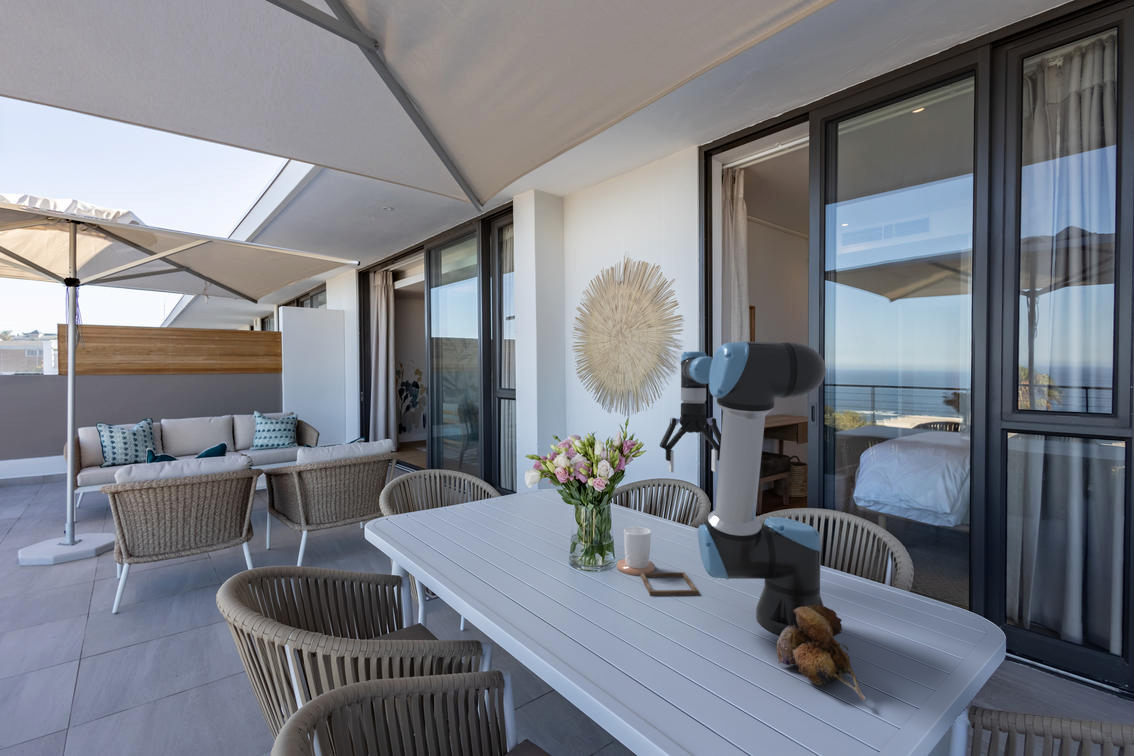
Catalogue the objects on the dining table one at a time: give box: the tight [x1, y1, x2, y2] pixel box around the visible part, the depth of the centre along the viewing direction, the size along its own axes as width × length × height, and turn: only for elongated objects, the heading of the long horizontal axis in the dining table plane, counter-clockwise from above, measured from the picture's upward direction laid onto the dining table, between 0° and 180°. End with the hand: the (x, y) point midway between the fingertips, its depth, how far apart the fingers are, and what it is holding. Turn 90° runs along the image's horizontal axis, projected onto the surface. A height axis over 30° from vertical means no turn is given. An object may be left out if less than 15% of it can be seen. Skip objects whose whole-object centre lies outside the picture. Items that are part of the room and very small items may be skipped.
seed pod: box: [776, 603, 866, 702], centre depth 97 cm, size 13×16×15 cm
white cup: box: [623, 526, 652, 569], centre depth 150 cm, size 8×8×10 cm
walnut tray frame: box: [640, 571, 699, 597], centre depth 138 cm, size 13×13×1 cm
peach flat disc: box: [616, 558, 656, 576], centre depth 150 cm, size 11×11×1 cm
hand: (692, 471), depth 156 cm, fingers open, 13 cm apart
